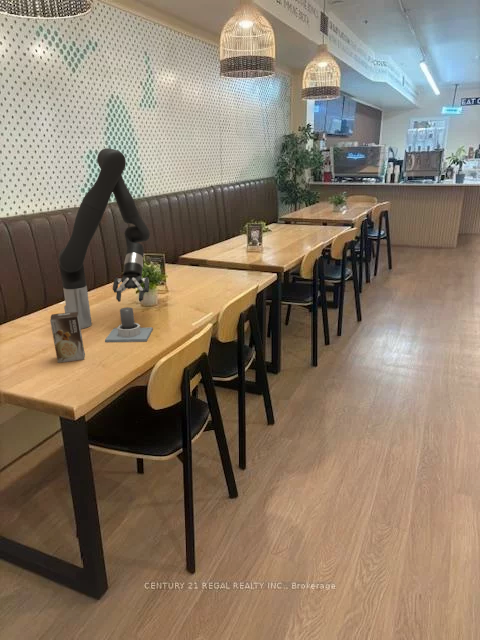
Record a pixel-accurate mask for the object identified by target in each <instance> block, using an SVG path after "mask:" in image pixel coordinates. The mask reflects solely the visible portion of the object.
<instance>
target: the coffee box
mask: <svg viewBox="0 0 480 640" xmlns="http://www.w3.org/2000/svg"><path fill="white" fill-rule="evenodd" d="M49 322H50V327H51V332H52V338H53V343H54V345H53V346H54V349H55V356H56V360H57V364H59V363H67V362H74V361H83V360H85V358H86V357H85V356H86V353H85V348H84V343H83V342H84V341H83V340H84V339H83V335H82V329H81V328H80V321H79V315H78V312H71V313H65V312H63V313H54V314H53V313H52V314H51V315H50V319H49Z"/></svg>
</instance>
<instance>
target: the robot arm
mask: <svg viewBox="0 0 480 640" xmlns="http://www.w3.org/2000/svg"><path fill="white" fill-rule="evenodd" d="M96 160H97V165H98V166H99V168H100V170H99V173H98V175H97V178H96V180H95V182H94V184H93V185H92V186H91V188H89V189H88V191H87V193H86V194H85V195H84V197H83V199H82V201H81V202H80V204H79V207H78V210H77V213H76V216H75V220H74V223H73V229H72V233H71V236H70V238H69V241H68V242H67V244H66V246H65V247H64V248H62V249H60V252H59V254H58V264H59V271H60V275H61V276H60V277H61V283H62V288H63V295H64V302H65V305H64V306H63V308H64V313H71V312H78V315H79V321H80V328H81V330H82V329H85V328H86V329H87V328H88V327H92V323H93V322H92V317H91V316H92V315H91V309H90V301H89V300H90V299H89V292H88V286H87V280H86V274H85V266H84V262H85V258H86V255H87V252H88V248H89V245H90V244H91V240H92V239H93V237H94V235H95V233H96V231H97V229H98V228H99V226H100V223H101V221H102V219H103V217H104V214H105V212H106V209H107V206H108V204H109V202H110V199H111V198H112V197H111V196H112V195H113V196H114V200H115V202H116V204H117V207H118V209H119V212H120V215H121V218H122V220H123V222H124V223H126V224H132V225H133V226H128V227H126V229H125V230H124V238H125V244H126V252H125V259H124V262H123V263H124V265H123V272H122V277H121V278H119V277H117V276H116V277H114V279H113V285H112V291H113V292H114V293H116V297H115V298H116V300H117V302H119V303H120V302H121V299H122V293H123V292H125V291H126V290H129V289H133V290H134V289H135V290H136V289H137V290H138V291H139V293H138V302H142V301H143V300H144V296H145V293H149V292H150V280H149V279H150V278H149V277H148V276H145V277H143V278H142V276H143V267H144V254H145V253H144V251H145V248H144V246H143V244H141V243H143V242H148V240H149V239H150V237H151V235H150V234H151V233H150V228H149V227H148V225H147V224H146V223H145V222H144V220H143V218H142V217H141V214H140V213H139V211H138V207H137V205H136V202H135V200H134V197H133V195H132V194H131V191H130V190H129V189H128V187H127V185H126V183H125V180H124V179H123V175H122V174H123V173H124V170H125V168H126V164H127V163H126V162H127V161H126V157H125V154H124V153H123V152H121V151H119V150H116V149H113V148H110V147H109V148H107V147H105V148H102V149H101V150H100V151H99V152H98V153H97V159H96ZM140 242H141V243H140ZM142 283H143V284H144V288H143V287H142V285H141V284H142Z"/></svg>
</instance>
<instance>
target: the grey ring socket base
mask: <svg viewBox="0 0 480 640" xmlns="http://www.w3.org/2000/svg"><path fill="white" fill-rule="evenodd" d="M153 330H154V328H153V327H151V326H149V327H141V325H140V324H139V323H137V322H135V328H133V329H122V324H121V323H120V324H119V325H118V326H117V327H114V328H113V329H112V330H111V331H110V332H109V334H108V335H107V336H106V338H105V339H104V342H105V343H131V342H133V343H136V342H137V343H138V342H140V343H142V342H143V343H144V342H148V340H149V339H150V336H151V334H152V332H153Z"/></svg>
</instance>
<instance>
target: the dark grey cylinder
mask: <svg viewBox="0 0 480 640" xmlns="http://www.w3.org/2000/svg"><path fill="white" fill-rule="evenodd" d="M119 315H120V322H121V323H120V325H121V324H122V329H133V328H135V323H136V322H135V316H134V309H133V307H129V306H127V307H123V308H120V309H119Z"/></svg>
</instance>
